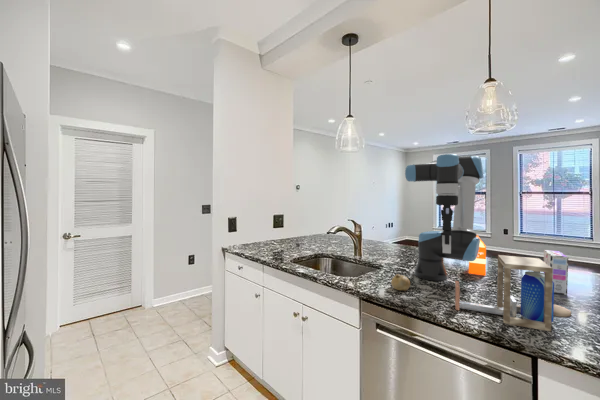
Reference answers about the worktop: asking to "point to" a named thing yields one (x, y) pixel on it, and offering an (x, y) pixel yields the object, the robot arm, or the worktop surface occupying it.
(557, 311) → the coaster
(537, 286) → the beer can
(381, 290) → the worktop surface
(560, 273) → the candy box
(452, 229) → the robot arm
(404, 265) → the worktop surface
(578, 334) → the worktop surface
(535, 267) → the wooden open frame
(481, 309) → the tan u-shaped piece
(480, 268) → the orange juice
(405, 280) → the onion
